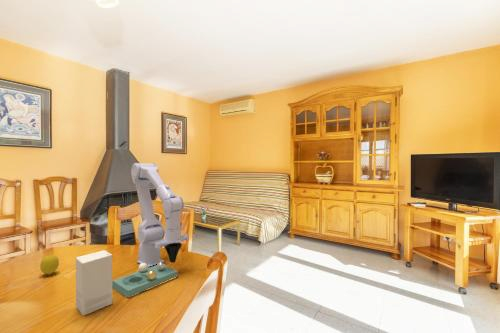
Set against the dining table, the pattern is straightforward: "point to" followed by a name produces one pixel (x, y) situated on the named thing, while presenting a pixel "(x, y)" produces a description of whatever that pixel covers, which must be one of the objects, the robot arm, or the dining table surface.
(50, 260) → the lemon
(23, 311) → the dining table surface
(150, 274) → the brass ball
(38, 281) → the dining table surface
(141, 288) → the bearing plate
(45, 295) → the dining table surface
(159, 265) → the steel ball
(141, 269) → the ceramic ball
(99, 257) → the skincare box
